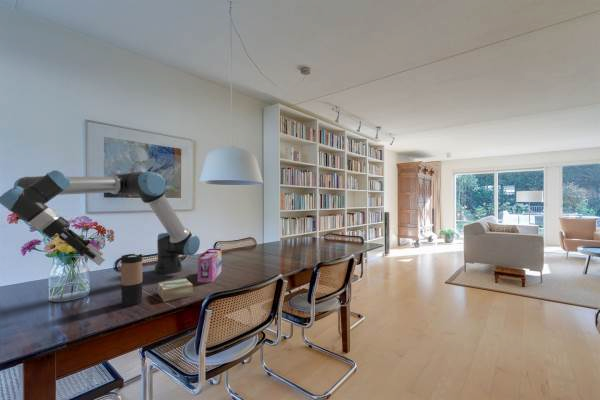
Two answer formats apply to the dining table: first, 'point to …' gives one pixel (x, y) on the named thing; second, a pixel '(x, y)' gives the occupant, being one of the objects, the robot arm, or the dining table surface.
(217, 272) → the gum box
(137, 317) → the dining table surface
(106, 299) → the dining table surface
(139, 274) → the travel mug
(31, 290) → the dining table surface
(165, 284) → the pedestal
